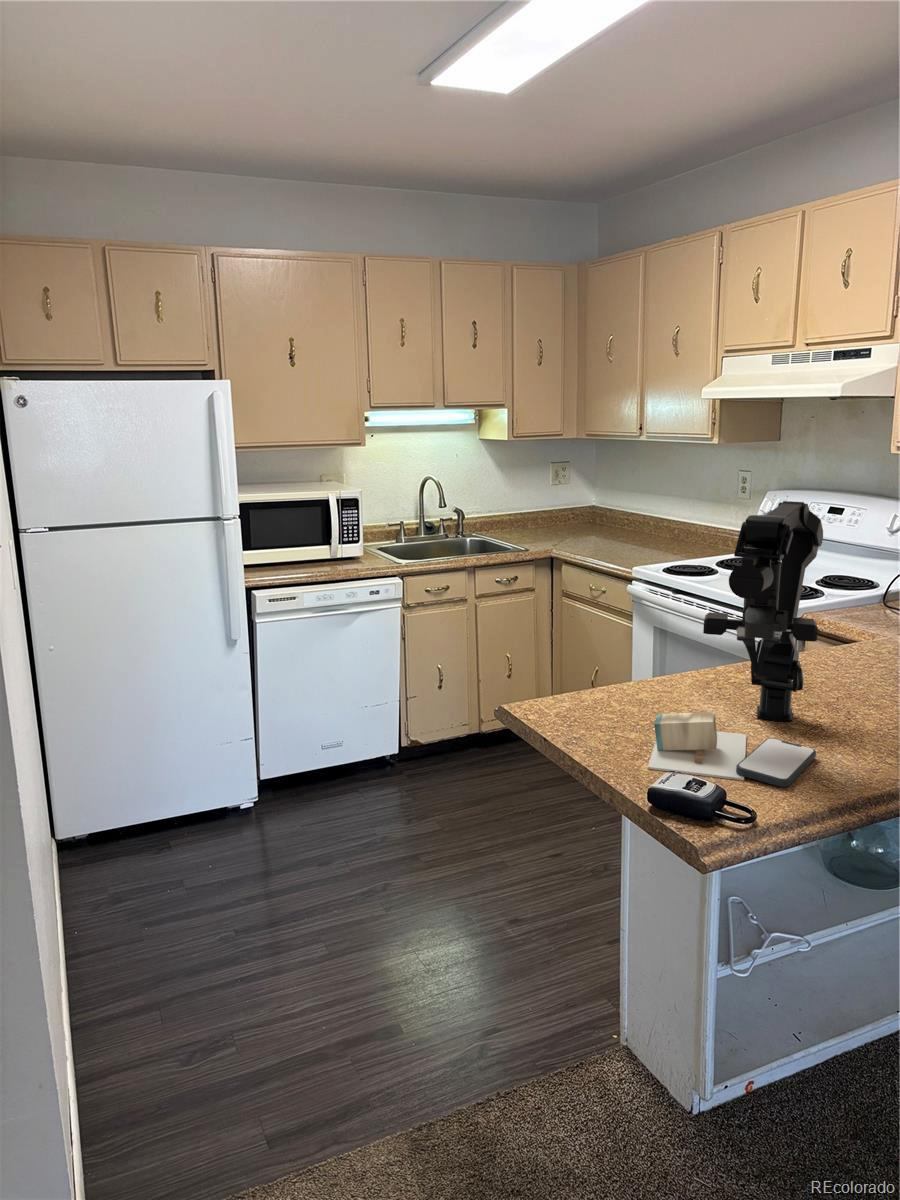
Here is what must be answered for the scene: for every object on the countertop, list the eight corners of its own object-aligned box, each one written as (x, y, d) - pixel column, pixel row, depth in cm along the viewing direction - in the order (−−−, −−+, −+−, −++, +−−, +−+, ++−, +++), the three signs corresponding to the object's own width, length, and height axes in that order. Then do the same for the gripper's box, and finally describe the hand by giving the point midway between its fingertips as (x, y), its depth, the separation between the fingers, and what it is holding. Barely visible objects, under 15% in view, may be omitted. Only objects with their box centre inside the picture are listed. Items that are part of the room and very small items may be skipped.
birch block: (717, 738, 153) (660, 740, 157) (714, 712, 152) (657, 714, 156) (716, 749, 148) (657, 750, 152) (713, 721, 148) (654, 723, 151)
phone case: (786, 790, 137) (817, 757, 149) (787, 781, 136) (818, 749, 148) (732, 775, 142) (766, 744, 154) (733, 766, 142) (767, 736, 154)
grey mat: (660, 727, 164) (660, 720, 164) (746, 736, 159) (746, 729, 158) (647, 768, 146) (647, 761, 145) (744, 780, 140) (744, 772, 140)
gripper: (703, 594, 146) (699, 681, 149) (822, 600, 140) (815, 692, 143) (707, 581, 156) (703, 663, 160) (818, 587, 150) (811, 672, 153)
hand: (756, 672), depth 154 cm, fingers closed
